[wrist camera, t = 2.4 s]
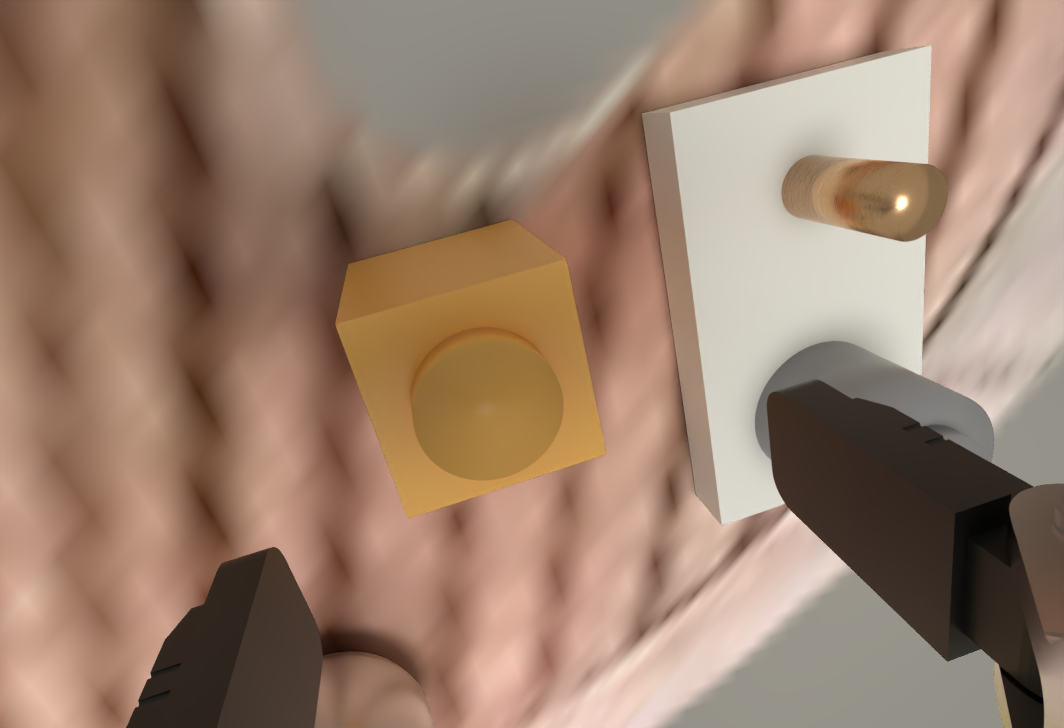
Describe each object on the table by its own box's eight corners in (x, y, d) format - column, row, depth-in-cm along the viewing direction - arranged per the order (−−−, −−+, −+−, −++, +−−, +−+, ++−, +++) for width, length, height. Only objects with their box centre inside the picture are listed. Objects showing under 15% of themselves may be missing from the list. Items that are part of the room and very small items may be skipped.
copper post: (783, 225, 19) (880, 250, 15) (779, 163, 18) (880, 174, 14) (837, 209, 19) (946, 230, 15) (835, 148, 18) (949, 155, 15)
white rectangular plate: (695, 495, 24) (721, 525, 22) (641, 113, 19) (669, 112, 17) (879, 432, 25) (918, 457, 23) (880, 52, 20) (931, 45, 18)
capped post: (760, 486, 22) (863, 586, 17) (749, 365, 20) (862, 439, 16) (880, 445, 23) (1012, 530, 18) (881, 323, 21) (1028, 383, 16)
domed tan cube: (400, 411, 20) (410, 544, 14) (348, 263, 18) (331, 339, 12) (547, 367, 21) (620, 474, 15) (512, 219, 19) (580, 268, 13)
